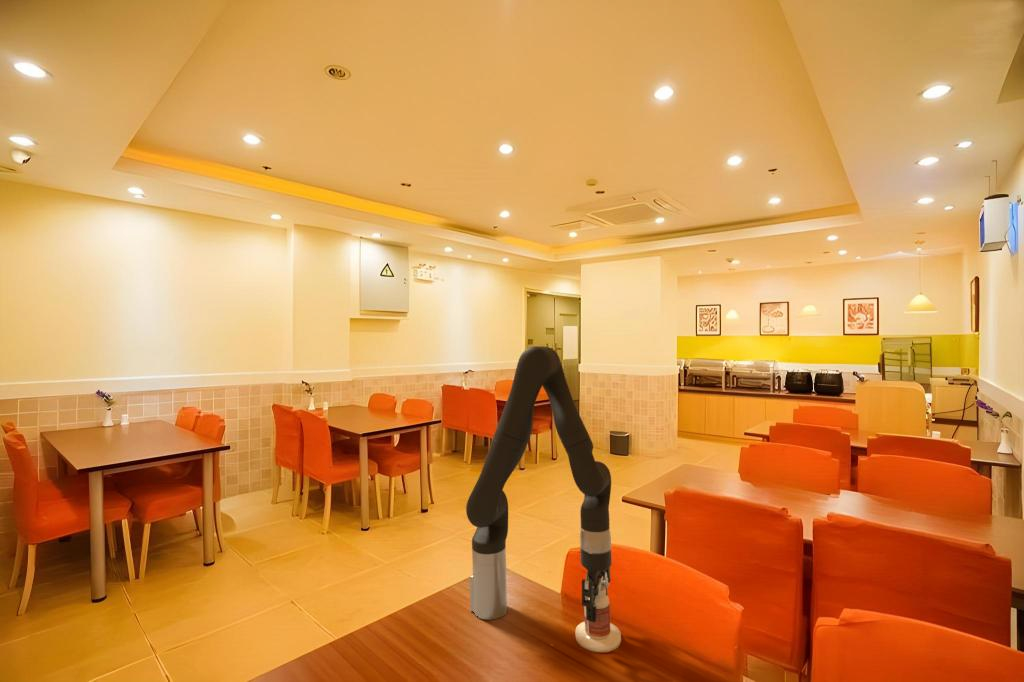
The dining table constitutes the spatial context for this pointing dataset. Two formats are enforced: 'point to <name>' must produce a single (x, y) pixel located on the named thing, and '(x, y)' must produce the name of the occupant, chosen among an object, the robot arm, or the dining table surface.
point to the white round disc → (598, 644)
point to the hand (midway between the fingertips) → (597, 611)
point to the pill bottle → (599, 617)
